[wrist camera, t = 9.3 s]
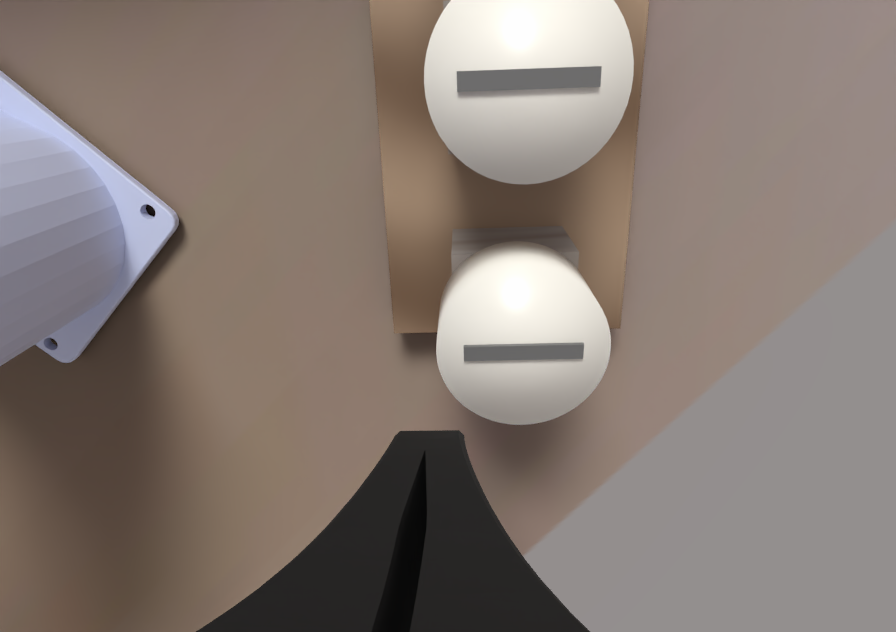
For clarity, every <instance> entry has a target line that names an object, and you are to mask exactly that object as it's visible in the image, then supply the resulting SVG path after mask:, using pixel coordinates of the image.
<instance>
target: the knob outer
mask: <svg viewBox="0 0 896 632" xmlns="http://www.w3.org/2000/svg"><path fill="white" fill-rule="evenodd" d="M610 350H611V336H610V329H609V325H608V322H607V319H606V316H605V314H604V312H603V310H602V308H601V306H600V305H599V303H598V301H597V300H596V298H595V297H594V295H593V293H592V292H591V290H590V288H589V287H588V285H587V283H586V282H585V280H584V278H583V277H582V275H581V274H580V272H579V271H578V269H577V268H576V267H575V266H574V265H573V264H572V262H570V261H569V260H568V259H567V258H566V257H565V256H563V255H562V254H560V253H558V252H557V251H555V250H553V249H551V248H549V247H547V246H544V245H540V244H537V243H532V242H524V241H513V242H504V243H499V244H495V245H492V246H489V247H486V248H484V249H482V250H480V251H478V252H476V253H475V254H473V255H472V256H470V257H469V258H467V259H466V260H465V261H464V262H463V263H462V264H461V265H460V266H459V267H458V268H457V269H456V270H455V271H454V273H453V274H452V276H451V277H450V279H449V280H448V282H447V284H446V286H445V288H444V291H443V294H442V297H441V302H440V309H439V320H438V331H437V342H436V355H437V363H438V367H439V371H440V374H441V376H442V378H443V381H444V383H445V384H446V386H447V388H448V389H449V391H450V392H451V393H452V394H453V396H454V397H455V398H456V399H457V400H458V401H459V402H460V403H461V404H462V405H463V406H465V407H466V408H468V409H469V410H470V411H472V412H474V413H476V414H477V415H479V416H481V417H484V418H486V419H489V420H492V421H495V422H499V423H504V424H511V425H527V424H536V423H541V422H545V421H549V420H552V419H555V418H557V417H559V416H562V415H564V414H566V413H567V412H569V411H571V410H573V409H574V408H575V407H577V406H578V405H579V404H581V403H582V402H583V401H584V400H585V399H586V398H587V397H588V396H589V395H590V394H591V393H592V392H593V391H594V389H595V388H596V387H597V385H598V384H599V382H600V381H601V379H602V377H603V375H604V373H605V370H606V368H607V365H608V361H609V357H610Z"/></svg>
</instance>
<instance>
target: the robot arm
mask: <svg viewBox="0 0 896 632" xmlns="http://www.w3.org/2000/svg"><path fill="white" fill-rule="evenodd" d="M147 204H148V205H150V206H152V207H153V208H154V209H155V213H156V214H155V217H153V216H151V215H149V214H148V213H147V211H146V206H147ZM178 225H179V218H178V216H177V214H176V212H175V211H174V210H173V209H172V208H170V207H169V206H168V205H167V204H165V203H164V202H163V201H162V200H161V199H159V198H158V197H157V196H156V195H154V194H153V193H152V192H151V191H149V190H148V189H147V188H146V187H144V186H143V185H142V184H141V183H139V182H138V181H137V180H136V179H134V178H133V177H132V176H131V175H129V174H128V173H127V172H126V171H125V170H123V169H122V168H121V167H120V166H118V165H117V164H116V163H115V162H113V161H112V160H111V159H110V158H108V157H107V156H106V155H105V154H103V153H102V152H101V151H100V150H98V149H97V148H96V147H95V146H93V145H92V144H91V143H90V142H89V141H87V140H86V139H85V138H84V137H82V136H81V135H80V134H79V133H77V132H76V131H75V130H74V129H72V128H71V127H70V126H69V125H67V124H66V123H65V122H64V121H62V120H61V119H60V118H59V117H57V116H56V115H55V114H54V113H52V112H51V111H50V110H49V109H48V108H46V107H45V106H44V105H43V104H41V103H40V102H39V101H38V100H36V99H35V98H34V97H33V96H31V95H30V94H29V93H28V92H26V91H25V90H24V89H23V88H21V87H20V86H19V85H18V84H16V83H15V82H14V81H13V80H12V79H10V78H9V77H8V76H7V75H5V74H4V73H3V72H2V71H0V366H1V365H3V364H5V363H6V362H8V361H9V360H11V359H12V358H14V357H16V356H17V355H19V354H20V353H22V352H24V351H25V350H27V349H28V348H30V347H32V346H33V345H36V346H37V347H39V348H40V349H42V350H43V351H45V352H46V353H48V354H49V355H50V356H52V357H53V358H55V359H56V360H58V361H60V362H63V363H70V362H72V361H74V360H75V359H76V358H78V357H79V356H80V355H81V353H82V352H83V351H84V349H85V348H86V347H87V345H88V344H89V343H90V342H91V340H92V339H93V338H94V336H95V335H96V334H97V332H98V331H99V330H100V328H101V327H102V326H103V325H104V323H105V322H106V321H107V319H108V318H109V317H110V315H111V314H112V313H113V312H114V310H115V309H116V308H117V306H118V305H119V304H120V302H121V301H122V300H123V298H124V297H125V296H126V295H127V293H128V292H129V291H130V289H131V288H132V287H133V285H134V284H135V283H136V281H137V280H138V279H139V278H140V276H141V275H142V274H143V272H144V271H145V270H146V268H147V267H148V266H149V265H150V263H151V262H152V261H153V259H154V258H155V257H156V255H157V254H158V253H159V251H160V250H161V249H162V248H163V246H164V245H165V244H166V242H167V241H168V240H169V238H170V237H171V236H172V234H173V233H174V232H175V231H176V229H177V227H178ZM50 338H52V339H54V340H55V341H56V342H57V345H58V346H57V345H55V344H53V343H52V342H51V339H50ZM196 632H590V631H589V630H588V629H587V628H586V627H585V626H584V625H583V624H582V623H580V621H579V620H578V619H576V618H575V617H574V616H573V615H572V614H571V613H570V612H569V610H568V609H567V608H566V607H565V606H564V605H563V604H562V603H561V601H560V600H559V599H558V598H557V597H556V596H555V595H554V594H553V593H552V591H551V590H550V589H549V588H548V587H547V586H546V585H545V584H544V583H543V582H542V580H541V579H540V578H539V577H538V575H537V574H536V573H535V572H534V571H533V569H532V568H531V566H530V565H529V564H528V563H527V561H526V560H525V559H524V557H523V556H522V555H521V553H520V552H519V550H518V549H517V548H516V546H515V545H514V543H513V542H512V540H511V539H510V537H509V536H508V534H507V533H506V531H505V530H504V528H503V526H502V525H501V523H500V521H499V520H498V518H497V516H496V515H495V513H494V511H493V509H492V508H491V506H490V504H489V502H488V500H487V498H486V496H485V494H484V492H483V490H482V488H481V486H480V484H479V482H478V480H477V477H476V475H475V473H474V470H473V468H472V465H471V462H470V460H469V457H468V454H467V450H466V446H465V441H464V435H463V434H462V433H461V432H460V431H459V430H458V431H400V432H399V433H398V434H397V435H396V436H395V437H394V439H393V440H392V442H391V444H390V445H389V447H388V449H387V450H386V452H385V453H384V455H383V456H382V458H381V459H380V461H379V462H378V464H377V465H376V466H375V468H374V469H373V471H372V472H371V473H370V475H369V476H368V477H367V479H366V480H365V481H364V483H363V484H362V485H361V487H360V488H359V489H358V491H357V492H356V493H355V494H354V496H353V497H352V498H351V499H350V500H349V502H348V503H347V504H346V505H345V506H344V507H343V509H342V510H341V511H340V512H339V513H338V514H337V516H336V517H335V518H334V519H333V520H332V521H331V522H330V523H329V525H328V526H327V527H326V528H325V529H324V530H323V531H322V532H321V533H320V534H319V535H318V536H317V537H316V538H315V539H314V540H313V541H312V542H311V543H310V544H309V545H308V546H307V547H306V548H305V549H304V550H303V551H302V552H301V553H300V554H299V555H298V556H296V557H295V558H294V559H293V560H292V561H291V562H290V563H288V564H287V565H286V566H285V567H284V568H283V569H282V570H280V571H279V572H278V573H277V574H276V575H274V576H273V577H272V578H271V579H270V580H268V581H267V582H266V583H265V584H263V585H262V586H261V587H260V588H259V589H257V590H256V591H255V592H253V593H252V594H251V595H249V596H248V597H246V598H245V599H244V600H242V601H241V602H240V603H238V604H237V605H235V606H234V607H233V608H231V609H230V610H228V611H227V612H225V613H224V614H222V615H221V616H219V617H218V618H216V619H215V620H213V621H212V622H210V623H209V624H207V625H206V626H204V627H203V628H201V629H200V630H198V631H196Z"/></svg>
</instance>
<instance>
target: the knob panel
mask: <svg viewBox="0 0 896 632" xmlns="http://www.w3.org/2000/svg"><path fill="white" fill-rule="evenodd" d="M450 1H451V0H369V4H370V17H371V30H372V44H373V57H374V70H375V84H376V97H377V110H378V124H379V137H380V150H381V164H382V177H383V190H384V204H385V217H386V230H387V244H388V257H389V270H390V284H391V297H392V310H393V324H394V333H430V332H437V331H438V320H439V309H440V302H441V297H442V294H443V291H444V288H445V286H446V284H447V282H448V280H449V279H450V277H451V276H452V274H453V273H454V271H455V270H456V269H457V268H458V267H459V266H460V265H461V264H462V263H463V262H464V261H465V260H466V259H467V258H469V257H470V256H472V255H473V254H475V253H476V252H478V251H480V250H482V249H484V248H486V247H489V246H492V245H495V244H499V243H504V242H513V241H524V242H532V243H537V244H540V245H544V246H547V247H549V248H551V249H553V250H555V251H557V252H558V253H560V254H562V255H563V256H565V257H566V258H567V259H568V260H569V261H570V262H572V264H573V265H574V266H575V267H576V268H577V269H578V271H579V272H580V274H581V275H582V277H583V278H584V280H585V282H586V283H587V285H588V287H589V288H590V290H591V292H592V293H593V295H594V297H595V298H596V300H597V301H598V303H599V305H600V306H601V308H602V310H603V312H604V314H605V316H606V319H607V322H608V325H609V329H615V328H620V324H621V312H622V301H623V290H624V278H625V267H626V256H627V245H628V233H629V222H630V211H631V199H632V188H633V177H634V165H635V154H636V143H637V132H638V120H639V109H640V98H641V86H642V75H643V64H644V53H645V41H646V30H647V19H648V7H649V0H614V1H615V3H616V4H617V6H618V8H619V9H620V11H621V13H622V15H623V17H624V19H625V22H626V25H627V27H628V30H629V34H630V38H631V42H632V48H633V58H634V72H633V82H632V89H631V93H630V97H629V101H628V104H627V107H626V109H625V112H624V114H623V117H622V119H621V121H620V123H619V125H618V126H617V128H616V130H615V132H614V133H613V134H612V136H611V137H610V139H609V140H608V142H607V143H606V144H605V145H604V146H603V147H602V148H601V150H600V151H599V152H598V153H597V154H596V155H595V156H593V157H592V158H591V159H590V160H589V161H588V162H586V163H585V164H583V165H582V166H581V167H579V168H578V169H576V170H574V171H572V172H570V173H569V174H567V175H565V176H562V177H559V178H557V179H554V180H551V181H547V182H542V183H537V184H510V183H504V182H500V181H496V180H493V179H490V178H487V177H485V176H483V175H481V174H479V173H477V172H475V171H474V170H472V169H471V168H469V167H468V166H466V165H465V164H464V163H463V162H461V161H460V160H459V159H458V158H457V157H456V156H455V155H454V154H453V153H452V152H451V151H450V150H449V149H448V147H447V146H446V145H445V143H444V142H443V140H442V139H441V137H440V136H439V134H438V132H437V130H436V128H435V126H434V124H433V121H432V119H431V116H430V113H429V110H428V106H427V102H426V97H425V88H424V66H425V58H426V52H427V48H428V44H429V41H430V37H431V35H432V32H433V30H434V27H435V25H436V23H437V21H438V19H439V17H440V16H441V14H442V12H443V10H444V9H445V8H446V6H447V5H448V3H449V2H450Z"/></svg>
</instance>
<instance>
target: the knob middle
mask: <svg viewBox="0 0 896 632" xmlns="http://www.w3.org/2000/svg"><path fill="white" fill-rule="evenodd" d="M633 72H634V58H633V48H632V42H631V38H630V34H629V30H628V27H627V25H626V22H625V19H624V17H623V15H622V13H621V11H620V9H619V8H618V6H617V4H616V3H615V1H614V0H451V1H450V2H449V3H448V5H447V6H446V8H445V9H444V10H443V12H442V14H441V16H440V17H439V19H438V21H437V23H436V25H435V27H434V30H433V32H432V35H431V37H430V41H429V44H428V48H427V52H426V58H425V66H424V88H425V97H426V102H427V106H428V110H429V113H430V116H431V119H432V121H433V124H434V126H435V128H436V130H437V132H438V134H439V136H440V137H441V139H442V140H443V142H444V143H445V145H446V146H447V147H448V149H449V150H450V151H451V152H452V153H453V154H454V155H455V156H456V157H457V158H458V159H459V160H460V161H461V162H463V163H464V164H465V165H466V166H468V167H469V168H471V169H472V170H474V171H475V172H477V173H479V174H481V175H483V176H485V177H487V178H490V179H493V180H496V181H500V182H504V183H510V184H537V183H542V182H547V181H551V180H554V179H557V178H559V177H562V176H565V175H567V174H569V173H570V172H572V171H574V170H576V169H578V168H579V167H581V166H582V165H583V164H585V163H586V162H588V161H589V160H590V159H591V158H592V157H593V156H595V155H596V154H597V153H598V152H599V151H600V150H601V148H602V147H603V146H604V145H605V144H606V143H607V142H608V140H609V139H610V137H611V136H612V134H613V133H614V132H615V130H616V128H617V126H618V125H619V123H620V121H621V119H622V117H623V114H624V112H625V109H626V107H627V104H628V101H629V97H630V93H631V89H632V82H633Z"/></svg>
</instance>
